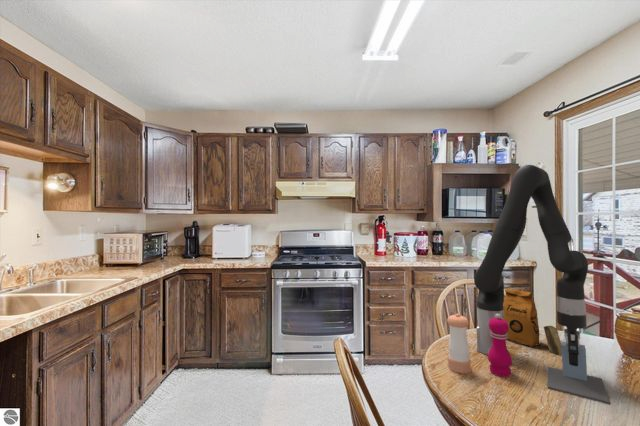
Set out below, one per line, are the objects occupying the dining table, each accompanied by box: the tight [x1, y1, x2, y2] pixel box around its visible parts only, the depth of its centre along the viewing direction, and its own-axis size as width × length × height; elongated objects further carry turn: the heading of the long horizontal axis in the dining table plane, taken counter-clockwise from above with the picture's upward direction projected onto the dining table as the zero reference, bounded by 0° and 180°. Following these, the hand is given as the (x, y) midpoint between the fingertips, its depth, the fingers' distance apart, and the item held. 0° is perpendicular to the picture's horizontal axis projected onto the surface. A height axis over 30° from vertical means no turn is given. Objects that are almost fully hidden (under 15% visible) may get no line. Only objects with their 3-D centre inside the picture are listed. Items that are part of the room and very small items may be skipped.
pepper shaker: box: [446, 313, 472, 374], centre depth 107 cm, size 7×7×19 cm
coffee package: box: [503, 288, 540, 348], centre depth 130 cm, size 10×12×22 cm
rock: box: [543, 325, 562, 357], centre depth 120 cm, size 11×9×10 cm
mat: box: [547, 366, 611, 405], centre depth 95 cm, size 14×16×1 cm
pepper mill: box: [487, 314, 513, 378], centre depth 103 cm, size 7×7×20 cm
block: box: [560, 340, 588, 381], centre depth 99 cm, size 6×4×10 cm, turn 53°
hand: (572, 360), depth 99 cm, fingers open, 8 cm apart
